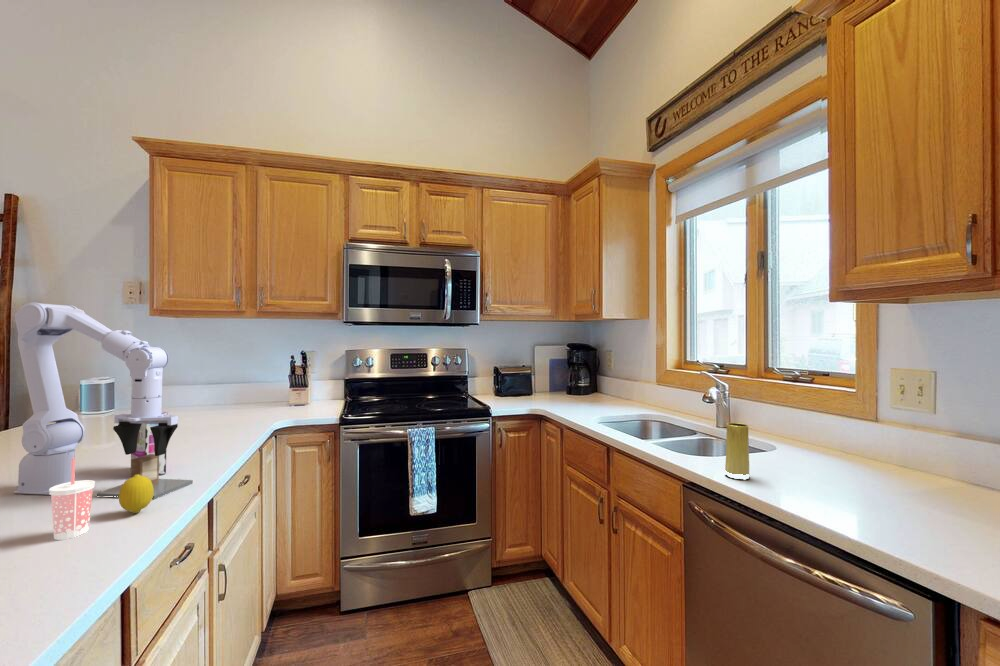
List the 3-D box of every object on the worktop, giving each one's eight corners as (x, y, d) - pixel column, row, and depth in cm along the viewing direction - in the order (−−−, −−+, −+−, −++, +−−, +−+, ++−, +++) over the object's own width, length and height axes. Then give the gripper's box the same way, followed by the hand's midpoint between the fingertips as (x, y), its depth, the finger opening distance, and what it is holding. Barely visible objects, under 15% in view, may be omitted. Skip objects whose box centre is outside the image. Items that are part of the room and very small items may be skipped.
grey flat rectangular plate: (96, 496, 99) (96, 493, 99) (140, 481, 110) (140, 478, 110) (154, 499, 98) (154, 495, 98) (192, 483, 109) (192, 480, 109)
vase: (721, 473, 123) (721, 421, 123) (744, 474, 122) (744, 422, 122) (729, 479, 117) (729, 426, 117) (754, 481, 116) (754, 427, 116)
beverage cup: (91, 524, 85) (92, 452, 85) (97, 533, 81) (98, 457, 81) (46, 535, 80) (47, 458, 80) (50, 545, 76) (51, 464, 77)
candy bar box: (167, 473, 116) (168, 412, 117) (144, 478, 112) (145, 414, 113) (152, 466, 123) (153, 407, 123) (129, 470, 119) (130, 410, 119)
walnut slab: (130, 489, 102) (131, 459, 102) (149, 482, 107) (149, 454, 107) (140, 490, 102) (140, 460, 102) (158, 483, 107) (159, 454, 107)
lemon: (133, 520, 87) (134, 479, 87) (111, 517, 88) (112, 477, 88) (160, 509, 93) (160, 471, 93) (138, 507, 94) (139, 469, 94)
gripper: (102, 398, 101) (100, 457, 101) (160, 400, 100) (159, 460, 100) (130, 394, 108) (129, 449, 108) (185, 396, 107) (184, 452, 107)
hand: (145, 454), depth 104 cm, fingers open, 7 cm apart
